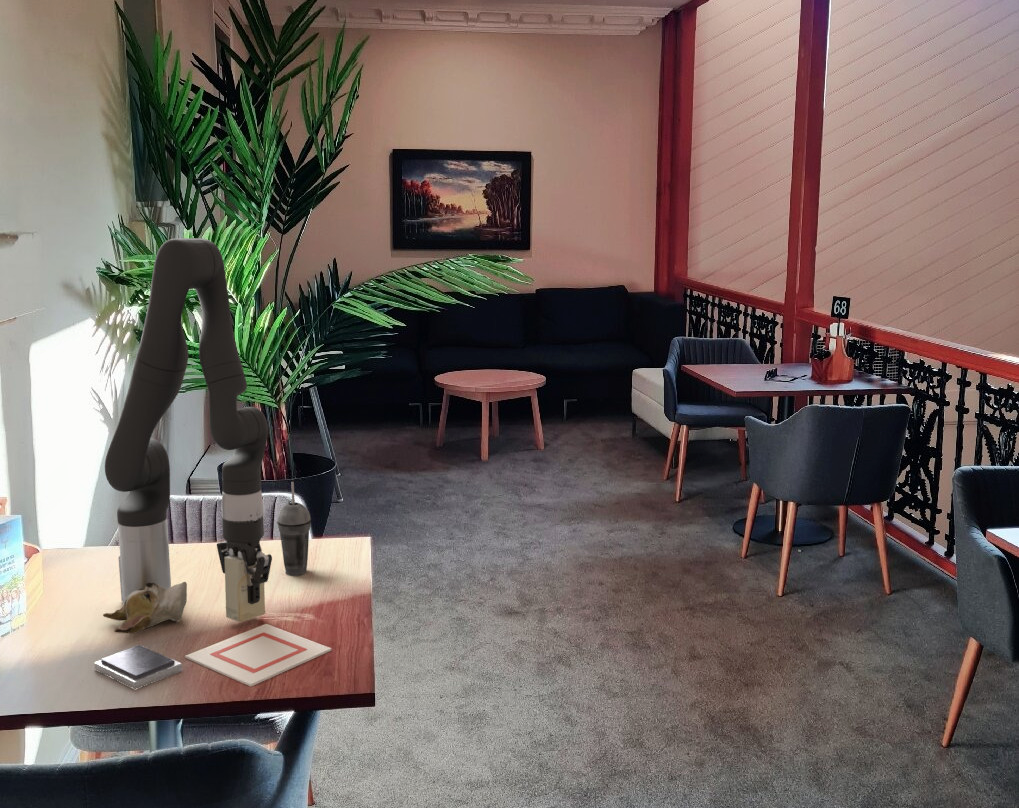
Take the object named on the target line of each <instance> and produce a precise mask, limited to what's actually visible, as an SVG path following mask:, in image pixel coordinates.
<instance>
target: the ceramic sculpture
mask: <svg viewBox="0 0 1019 808" xmlns="http://www.w3.org/2000/svg"><path fill="white" fill-rule="evenodd" d="M187 583H188V582H186V581H183V582H181V583H178V584H174V585H171V588H168V589H164V588H162V587H161V586H160V585H159V584H155V583H147V584H146V586H145V589H139V590H138V591H133V592H132V593H131V594H130V595H129V596H128V597H127V598H126V600H125V603H124V605H123V606H121V607H120V608H119V609H116V610H115V611H114V612H106V613H103V614H102V616H103V617H104V618H107V619H111V620H114V621H121V624H120V626H119V627H117V628H116V629H114V633H117V634H135V633H139V632H141V631H142V630H144V629H147V628H151V627H153V626H156V625H158V624H159V623H162V622H165V621H168V620H171V621H174V622H180V621H181V620H182V618H183V613H184V609H185V607H186V604H187V602H188V600H187V599H188V598H187V597H188V595H187V594H188V593H187V589H188V584H187Z"/></svg>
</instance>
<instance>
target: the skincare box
mask: <svg viewBox="0 0 1019 808" xmlns="http://www.w3.org/2000/svg"><path fill="white" fill-rule="evenodd" d="M224 558H225V574H224V581H225V583H224V584H225V585H224V589H225V590H224V591H225V616H226V617H225V618H227V619H229V620H233V621H235V622H238V623H243V622H246V621H248V620H251V619H254V618H257V617H260V616H263V615H265V614H266V603H265V602H266V601H265V600H266V598H265V582H264V583H261V584H260V600H259V602H257V603H254V604H249V603H248V591H247V585H248V583H247V577H246V574H244V560H240V559H239V558H238V556H235V557H232V556H227V557H224ZM256 565H257V564H256V563H255V564H254V565H253V566H249V567H248V568H249V569H251V568H254V567H256ZM262 575H263V574H262ZM262 575H261V576H262ZM254 576H255V572H253V573H252V578H254Z"/></svg>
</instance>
